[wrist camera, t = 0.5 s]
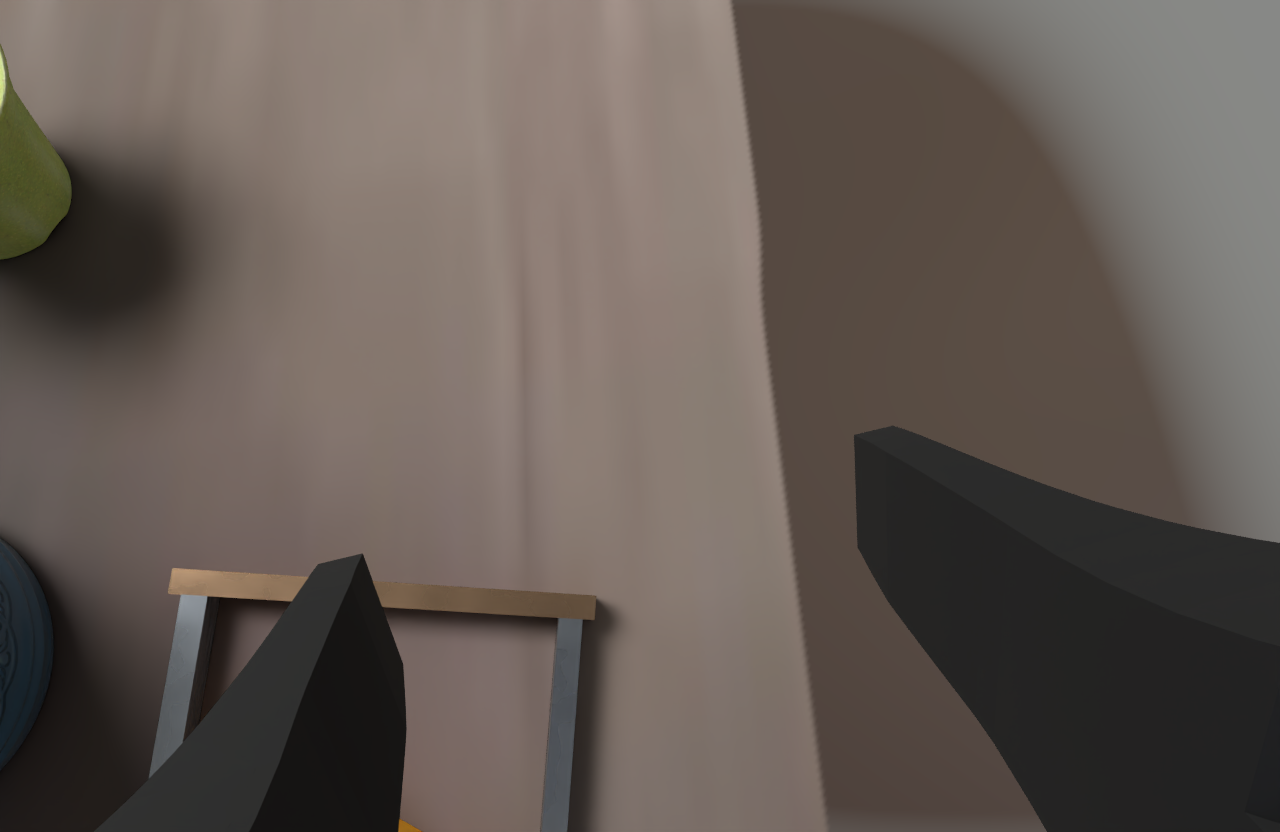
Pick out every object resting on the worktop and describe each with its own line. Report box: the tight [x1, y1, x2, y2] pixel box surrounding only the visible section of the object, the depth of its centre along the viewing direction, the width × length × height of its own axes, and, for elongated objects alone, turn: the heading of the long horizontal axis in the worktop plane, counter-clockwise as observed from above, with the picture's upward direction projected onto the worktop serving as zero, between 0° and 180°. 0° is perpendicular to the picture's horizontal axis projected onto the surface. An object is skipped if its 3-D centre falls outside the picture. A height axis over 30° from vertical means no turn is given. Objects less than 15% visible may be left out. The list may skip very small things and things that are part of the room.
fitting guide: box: [149, 568, 596, 832], centre depth 35 cm, size 16×17×2 cm
